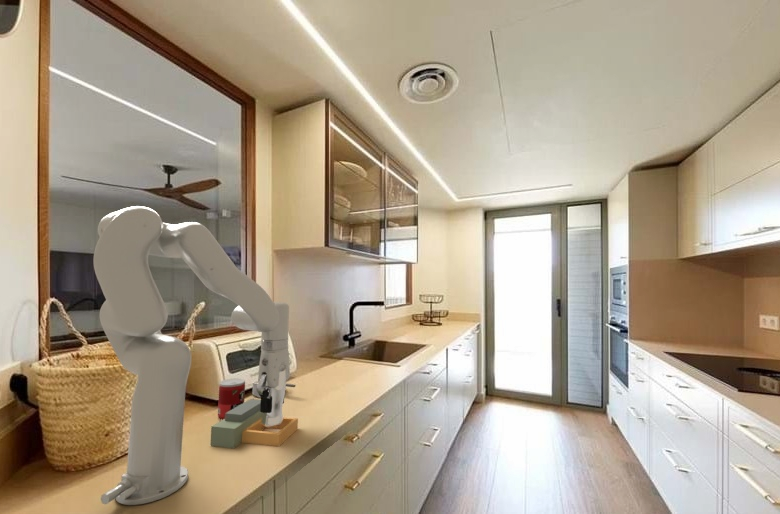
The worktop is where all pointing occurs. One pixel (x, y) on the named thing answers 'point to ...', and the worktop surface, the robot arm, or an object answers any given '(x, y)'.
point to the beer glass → (275, 403)
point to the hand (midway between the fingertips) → (272, 407)
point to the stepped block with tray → (249, 427)
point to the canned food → (230, 395)
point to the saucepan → (258, 393)
